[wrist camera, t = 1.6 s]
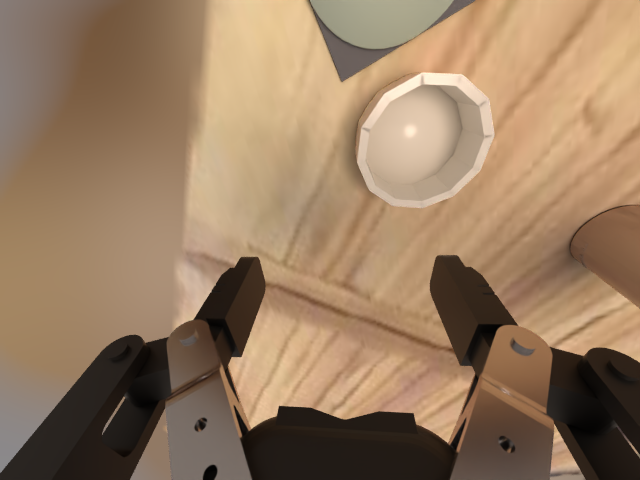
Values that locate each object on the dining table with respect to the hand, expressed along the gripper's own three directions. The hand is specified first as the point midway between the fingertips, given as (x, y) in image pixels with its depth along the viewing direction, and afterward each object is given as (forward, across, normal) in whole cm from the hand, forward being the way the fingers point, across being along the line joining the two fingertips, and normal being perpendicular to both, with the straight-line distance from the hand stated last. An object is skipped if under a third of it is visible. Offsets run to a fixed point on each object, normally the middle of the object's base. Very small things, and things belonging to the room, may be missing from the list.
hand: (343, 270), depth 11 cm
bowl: (+22, -8, -1) cm, 23 cm away
